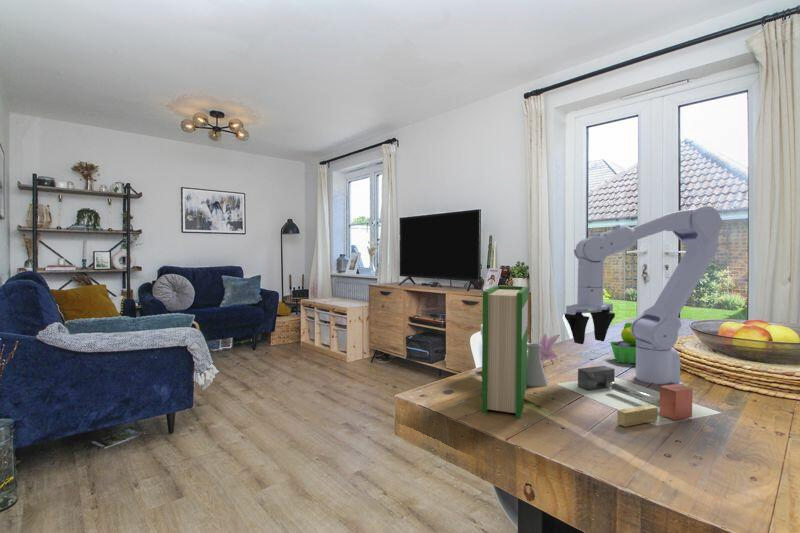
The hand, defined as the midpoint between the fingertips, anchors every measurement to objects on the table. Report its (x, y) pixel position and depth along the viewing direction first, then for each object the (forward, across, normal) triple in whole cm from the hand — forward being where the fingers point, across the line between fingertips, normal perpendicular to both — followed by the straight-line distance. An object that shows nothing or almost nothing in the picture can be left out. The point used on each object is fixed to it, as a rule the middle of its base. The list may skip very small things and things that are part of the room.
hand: (589, 342), depth 99 cm
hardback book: (+10, -27, -1) cm, 29 cm away
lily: (+10, -1, +14) cm, 17 cm away
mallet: (+9, -6, -17) cm, 20 cm away
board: (+10, -4, -13) cm, 17 cm away
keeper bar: (+9, -16, -22) cm, 29 cm away
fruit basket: (+10, +29, +8) cm, 32 cm away
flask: (+10, -15, +4) cm, 18 cm away
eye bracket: (+9, -5, -6) cm, 11 cm away
